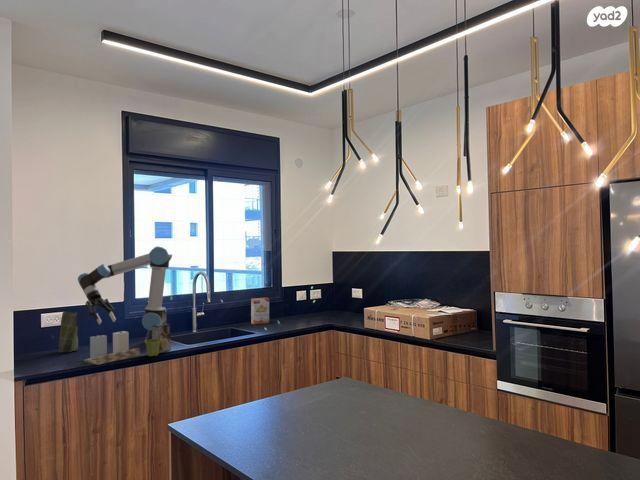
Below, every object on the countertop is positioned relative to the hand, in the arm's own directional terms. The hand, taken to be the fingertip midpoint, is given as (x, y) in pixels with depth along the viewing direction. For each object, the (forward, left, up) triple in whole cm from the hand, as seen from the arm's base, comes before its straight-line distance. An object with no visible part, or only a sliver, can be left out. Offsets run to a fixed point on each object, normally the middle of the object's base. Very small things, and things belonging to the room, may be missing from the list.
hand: (107, 321), depth 284 cm
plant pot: (-10, +30, -19) cm, 37 cm away
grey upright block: (+14, +13, -17) cm, 26 cm away
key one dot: (0, +13, -17) cm, 22 cm away
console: (+7, +16, -19) cm, 25 cm away
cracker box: (-127, +13, -19) cm, 129 cm away
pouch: (+11, -23, -19) cm, 32 cm away
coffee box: (-20, +25, -19) cm, 37 cm away
